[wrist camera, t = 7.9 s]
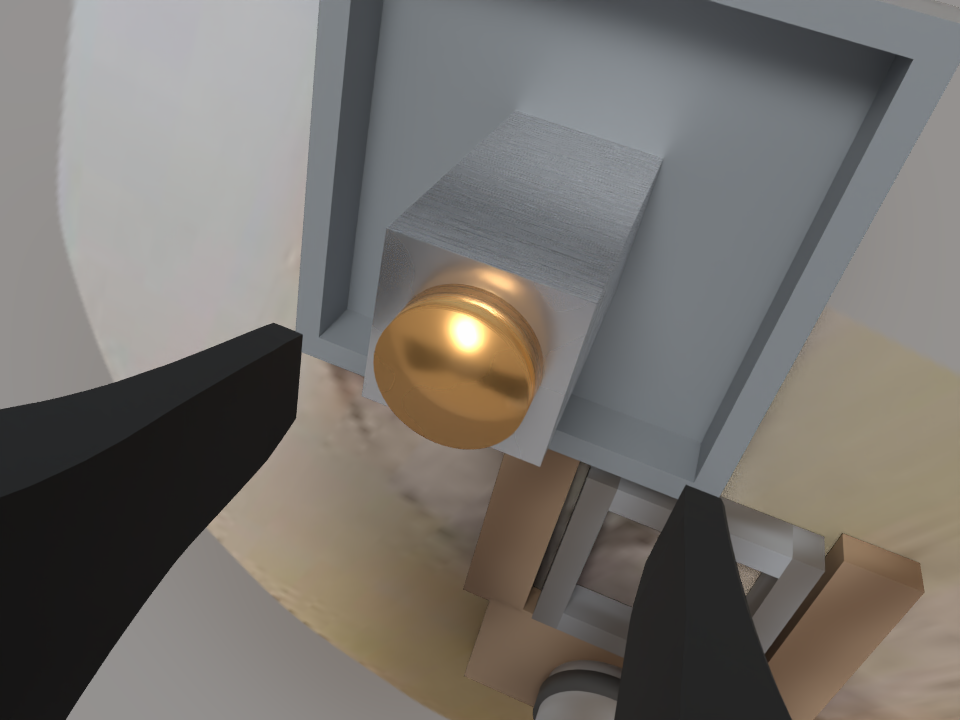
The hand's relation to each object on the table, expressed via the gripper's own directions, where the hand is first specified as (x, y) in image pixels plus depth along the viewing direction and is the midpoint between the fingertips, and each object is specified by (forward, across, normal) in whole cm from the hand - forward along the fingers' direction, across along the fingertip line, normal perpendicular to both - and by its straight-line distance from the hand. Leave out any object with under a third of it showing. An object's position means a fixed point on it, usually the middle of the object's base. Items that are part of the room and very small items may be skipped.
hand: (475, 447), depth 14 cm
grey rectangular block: (+10, +1, -1) cm, 10 cm away
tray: (+10, +1, -1) cm, 10 cm away
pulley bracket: (+10, -6, +14) cm, 18 cm away
